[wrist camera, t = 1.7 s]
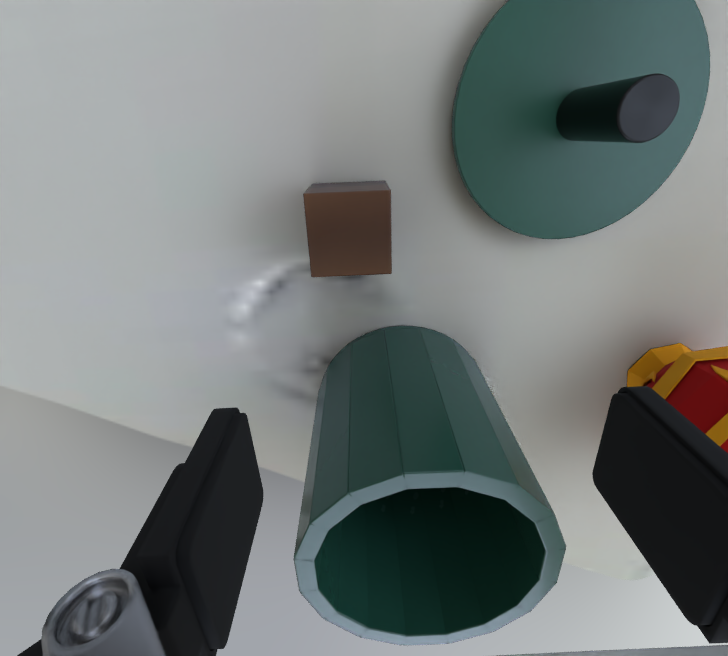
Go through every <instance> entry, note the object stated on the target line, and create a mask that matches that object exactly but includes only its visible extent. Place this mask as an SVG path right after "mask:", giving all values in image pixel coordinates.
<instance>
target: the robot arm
mask: <svg viewBox="0 0 728 656" xmlns="http://www.w3.org/2000/svg"><path fill="white" fill-rule="evenodd" d="M593 481H594V484H595V486H596V488H597V489H598V491H599V492H600V493H601V495H602V496H603V498H604V499H605V501H606V502H607V504H608V505H609V507H610V508H611V510H612V511H613V512H614V514H615V515H616V517H617V518H618V520H619V521H620V523H621V524H622V526H623V527H624V529H625V530H626V531H627V533H628V534H629V536H630V537H631V539H632V540H633V542H634V543H635V545H636V546H637V548H638V549H639V550H640V552H641V553H642V555H643V556H644V558H645V559H646V561H647V562H648V564H649V565H650V567H651V568H652V569H653V571H654V572H655V574H656V575H657V577H658V578H659V580H660V581H661V583H662V584H663V585H664V587H665V588H666V590H667V591H668V593H669V594H670V596H671V597H672V599H673V600H674V601H675V603H676V605H677V606H678V607H679V609H680V610H681V612H682V613H683V615H684V616H685V617H686V618H687V620H688V621H689V622H691V623H692V624H693V625H697V626H698V627H699V629H700V630H701V632H702V633H703V634H704V636H705V638H706V639H707V640H708V642H709V643H728V453H727V452H726V451H725V450H723V449H722V448H721V447H720V446H719V445H717V444H716V443H715V442H714V441H713V440H712V439H710V438H709V437H708V436H707V435H706V434H705V433H703V432H702V431H701V430H700V429H699V428H698V427H696V426H695V425H694V424H693V423H692V422H691V421H689V420H688V419H687V418H686V417H685V416H683V415H682V414H681V413H680V412H679V411H678V410H676V409H675V408H674V407H673V406H672V405H671V404H669V403H668V402H667V401H666V400H665V399H664V398H662V397H661V396H660V395H659V394H658V393H656V392H655V391H654V390H653V389H652V388H650V387H648V386H636V387H623V388H621V389H620V390H619V391H618V393H616V394H614V395H613V396H612V399H611V403H610V407H609V410H608V414H607V418H606V422H605V426H604V430H603V434H602V438H601V442H600V445H599V449H598V453H597V457H596V461H595V465H594V469H593ZM262 503H263V487H262V483H261V478H260V474H259V469H258V464H257V460H256V455H255V451H254V446H253V441H252V437H251V432H250V428H249V423H248V418H247V415H246V413H240V411H239V409H238V408H219V409H214V410H213V411H212V412H211V414H210V416H209V418H208V420H207V422H206V424H205V426H204V428H203V429H202V431H201V433H200V435H199V437H198V439H197V441H196V443H195V445H194V447H193V449H192V451H191V452H190V454H189V456H188V458H187V460H186V462H185V463H182V464H179V465H178V466H176V468H175V469H174V471H173V473H172V474H171V476H170V478H169V479H168V481H167V483H166V485H165V487H164V489H163V491H162V492H161V494H160V496H159V498H158V500H157V501H156V503H155V505H154V507H153V509H152V511H151V512H150V514H149V516H148V518H147V520H146V522H145V523H144V525H143V527H142V529H141V531H140V533H139V534H138V536H137V538H136V540H135V542H134V544H133V545H132V547H131V549H130V551H129V553H128V554H127V556H126V558H125V560H124V562H123V564H122V565H121V567H120V569H110V570H106V571H101V572H98V573H96V574H94V575H92V576H90V577H88V578H86V579H84V580H82V581H81V582H80V583H78V584H77V585H75V586H74V587H73V588H71V589H70V590H69V591H68V592H67V593H66V594H65V595H64V596H63V597H62V598H61V599H60V600H59V601H58V602H57V604H56V605H55V606H54V608H53V609H52V611H51V612H50V613H49V615H48V617H47V619H46V622H45V624H44V627H43V630H42V639H41V640H39V641H38V642H37V643H35V644H33V645H32V646H31V647H29V648H28V649H26V650H25V651H23V652H22V653H20V654H19V655H18V656H216V652H217V649H223V648H224V647H225V645H226V643H227V640H228V637H229V632H230V629H231V625H232V621H233V617H234V613H235V609H236V606H237V601H238V597H239V594H240V590H241V586H242V582H243V578H244V574H245V570H246V566H247V562H248V558H249V555H250V550H251V546H252V543H253V539H254V535H255V531H256V527H257V523H258V519H259V515H260V511H261V507H262ZM499 656H728V645H717V646H694V647H671V648H649V649H625V650H603V651H582V652H560V653H539V654H520V655H519V654H518V655H499Z"/></svg>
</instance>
